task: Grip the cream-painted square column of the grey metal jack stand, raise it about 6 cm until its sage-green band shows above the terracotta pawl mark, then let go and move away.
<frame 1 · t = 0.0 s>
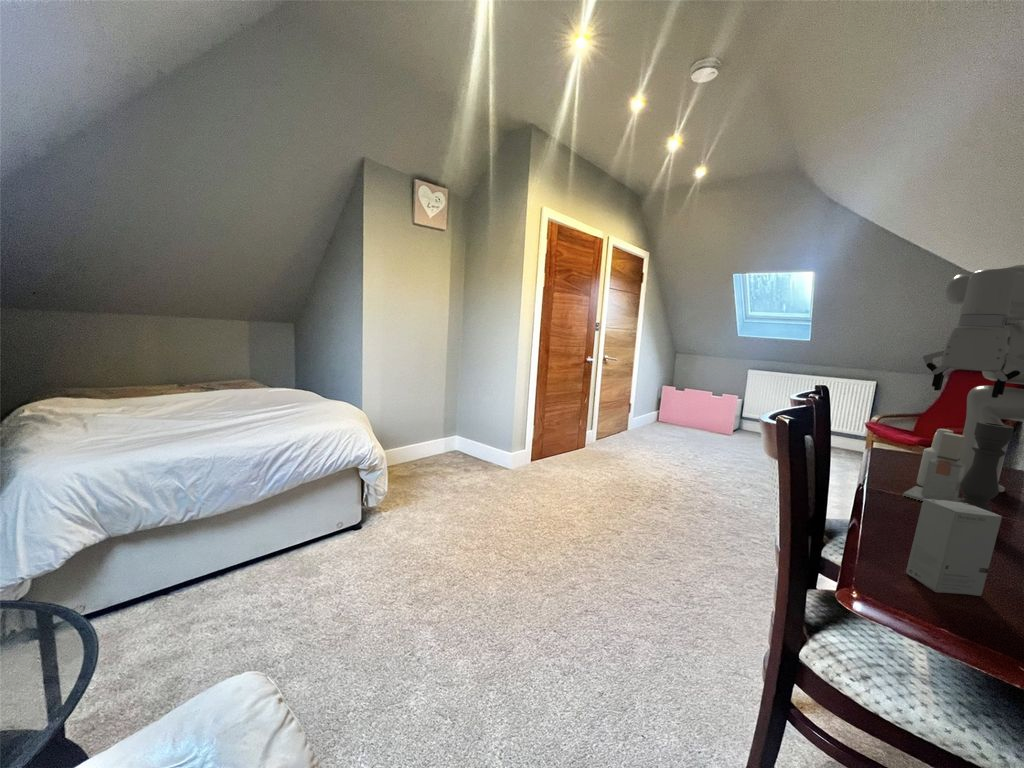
hand: (964, 393, 100), 31 cm above the table, tool pointing down, fingers open, 9 cm apart
jack stand base: (938, 500, 113), on the table
jack column: (946, 465, 112), point 10 cm above the table, slide at 0.0 cm
candle holder: (969, 525, 99), on the table
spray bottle: (931, 487, 124), on the table
skincare box: (941, 585, 73), on the table
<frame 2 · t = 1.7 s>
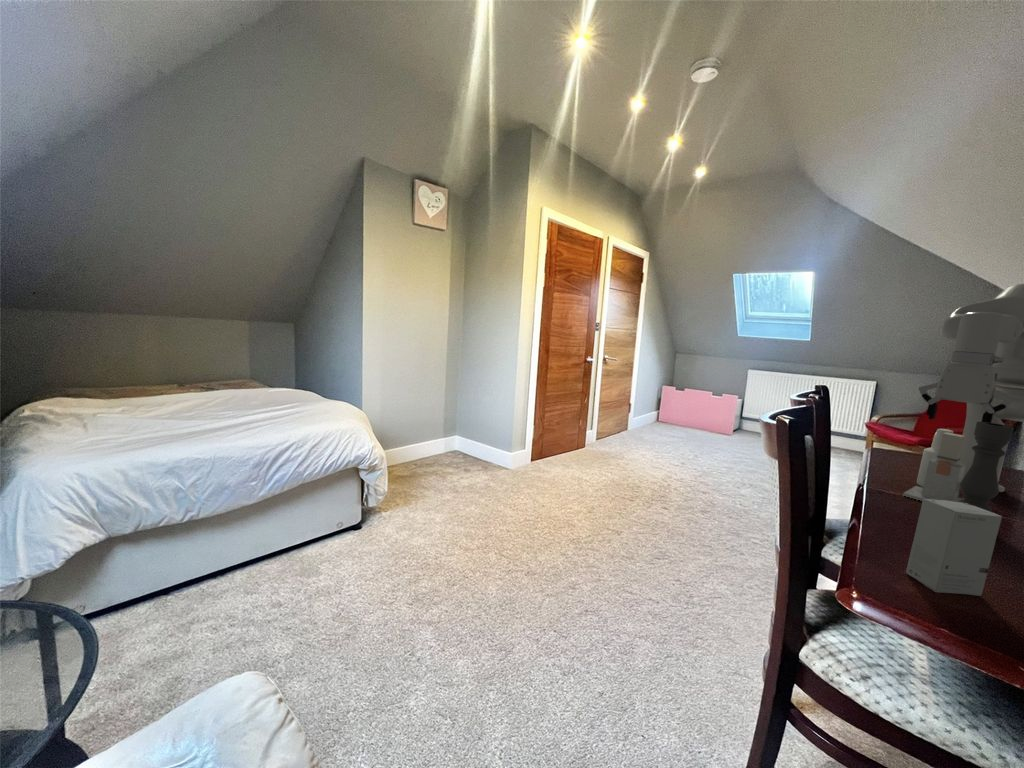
hand: (956, 423, 110), 22 cm above the table, tool pointing down, fingers open, 9 cm apart
nothing on the table moved.
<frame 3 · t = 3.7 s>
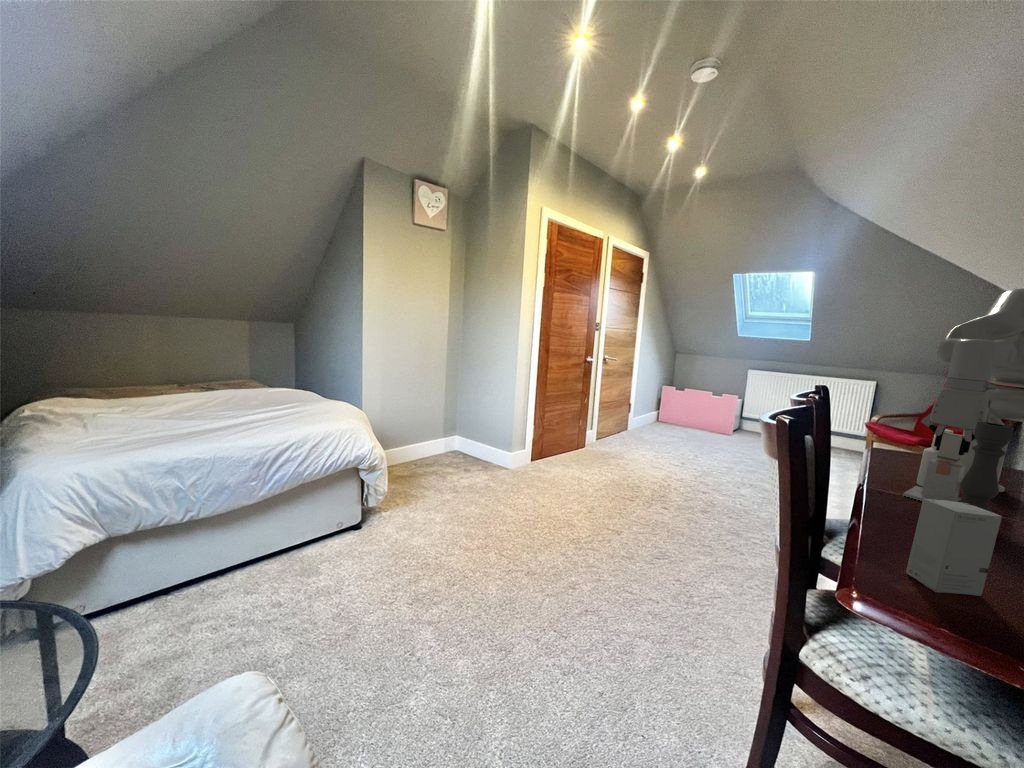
hand: (950, 451, 111), 14 cm above the table, tool pointing down, fingers closed on jack column, 3 cm apart
jack column: (946, 465, 112), point 10 cm above the table, slide at 0.0 cm, touching gripper
everything else where it was.
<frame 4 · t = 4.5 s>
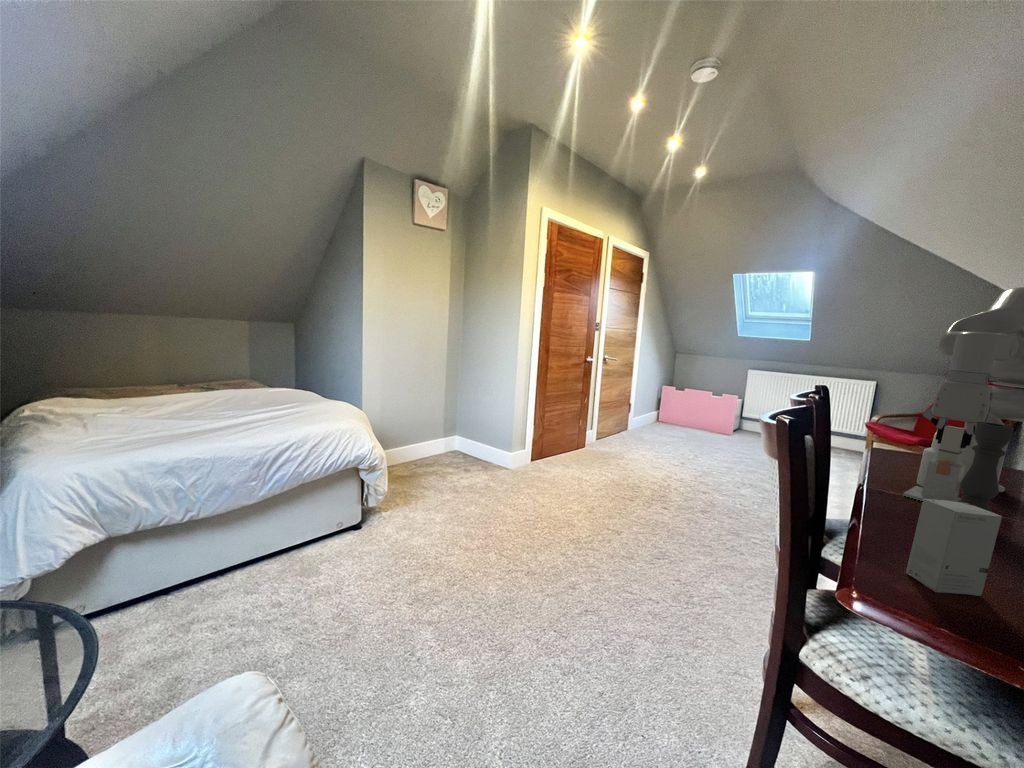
hand: (951, 444, 111), 16 cm above the table, tool pointing down, fingers closed on jack column, 3 cm apart
jack column: (948, 458, 112), point 12 cm above the table, slide at 1.9 cm, touching gripper
everything else where it was.
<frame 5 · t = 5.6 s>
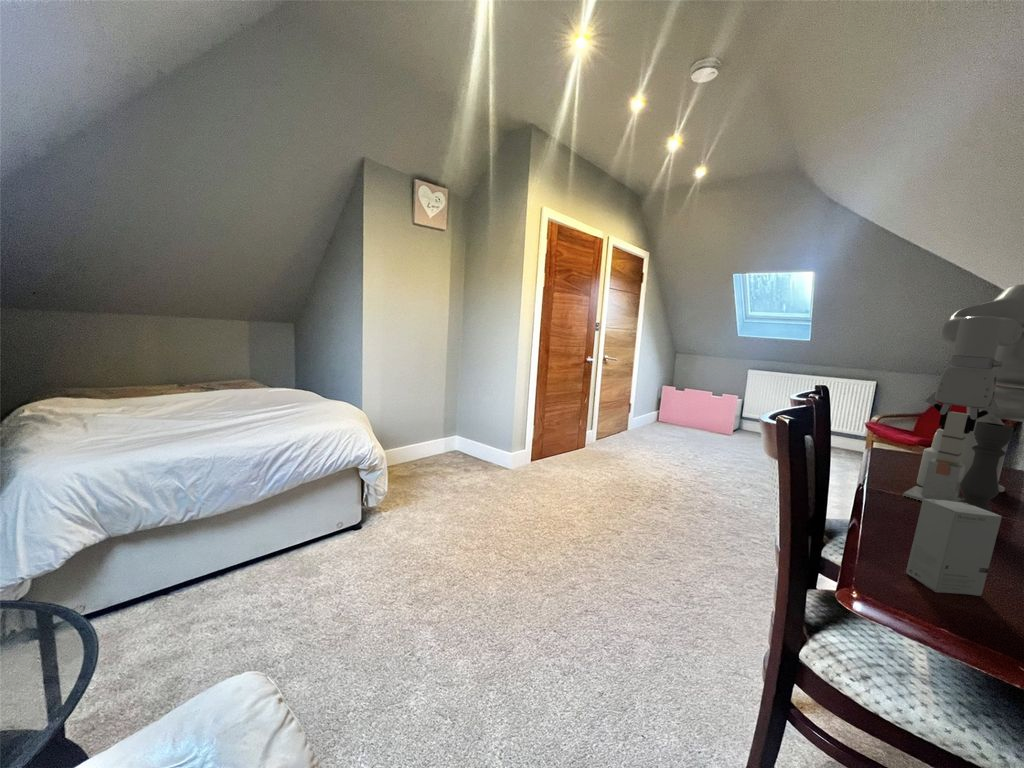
hand: (955, 430, 110), 20 cm above the table, tool pointing down, fingers closed on jack column, 3 cm apart
jack column: (951, 444, 111), point 16 cm above the table, slide at 5.9 cm, touching gripper
everything else where it was.
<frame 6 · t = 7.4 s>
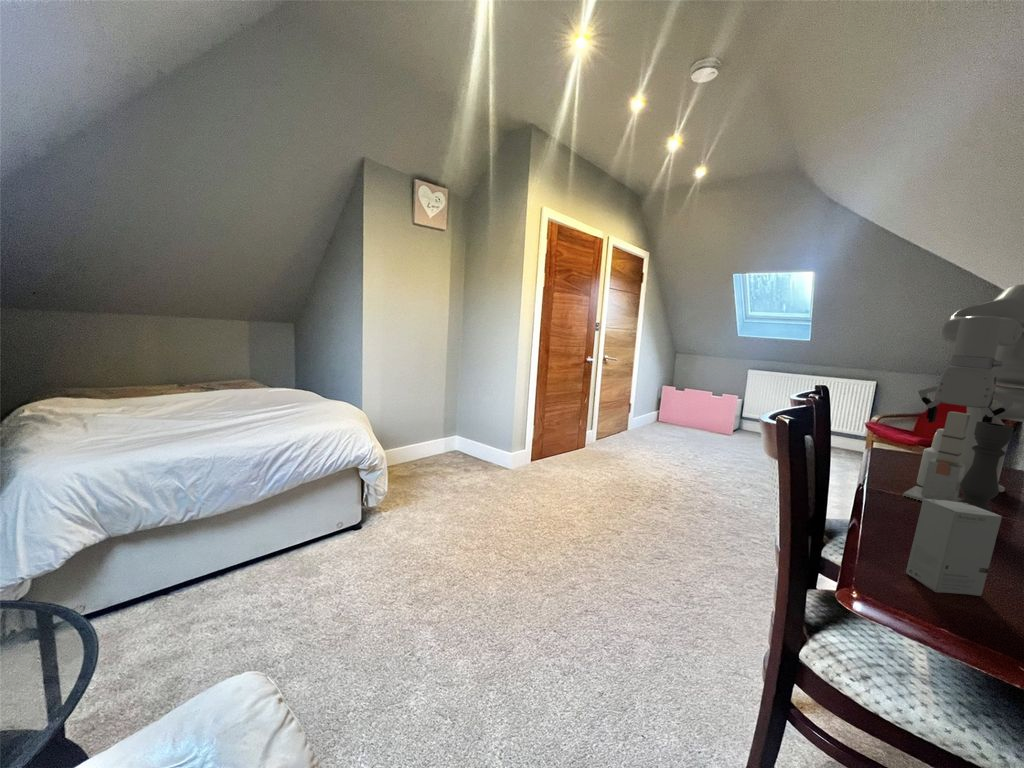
hand: (956, 426, 110), 21 cm above the table, tool pointing down, fingers open, 9 cm apart
jack column: (951, 444, 111), point 16 cm above the table, slide at 6.0 cm
everything else where it was.
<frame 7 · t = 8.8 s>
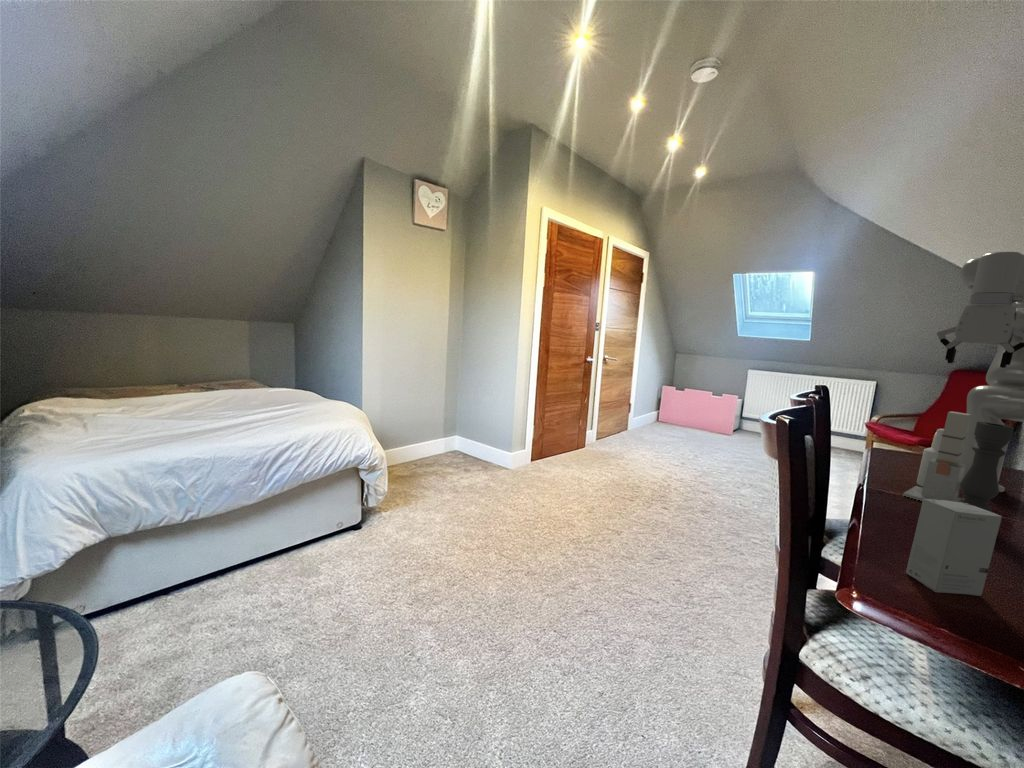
hand: (975, 365, 111), 38 cm above the table, tool pointing down, fingers open, 9 cm apart
nothing on the table moved.
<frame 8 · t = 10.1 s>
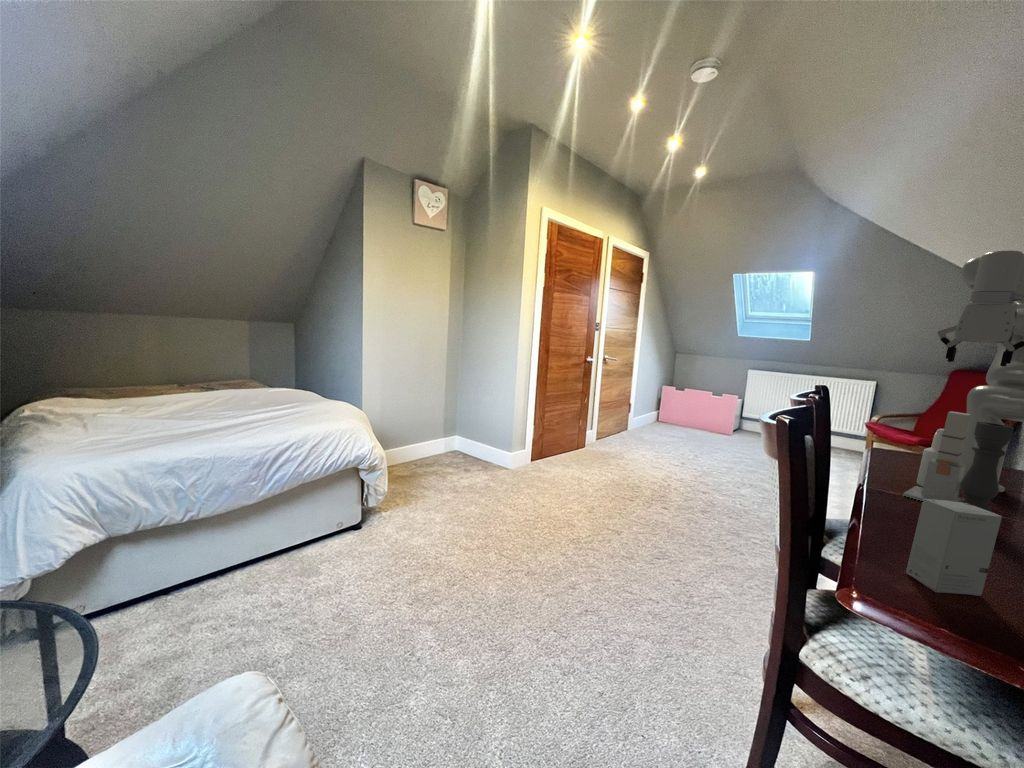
hand: (975, 363, 111), 38 cm above the table, tool pointing down, fingers open, 9 cm apart
nothing on the table moved.
at the end: jack column slide at 6.0 cm; the gripper is holding nothing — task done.
